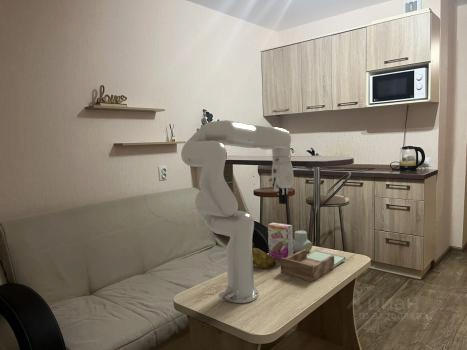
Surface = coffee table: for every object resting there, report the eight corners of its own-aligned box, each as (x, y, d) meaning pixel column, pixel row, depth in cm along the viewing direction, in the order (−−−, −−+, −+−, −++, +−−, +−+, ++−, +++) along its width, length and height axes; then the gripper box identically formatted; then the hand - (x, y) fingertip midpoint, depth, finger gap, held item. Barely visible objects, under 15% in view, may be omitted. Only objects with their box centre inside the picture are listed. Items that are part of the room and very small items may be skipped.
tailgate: (334, 264, 148) (345, 256, 155) (305, 257, 159) (316, 250, 166) (334, 267, 148) (345, 259, 155) (305, 259, 159) (316, 253, 166)
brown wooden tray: (311, 281, 135) (311, 265, 135) (280, 272, 146) (280, 257, 145) (334, 268, 148) (334, 253, 147) (304, 260, 159) (304, 247, 158)
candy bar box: (268, 257, 165) (266, 224, 163) (274, 254, 169) (272, 222, 167) (288, 262, 158) (287, 227, 156) (294, 259, 162) (292, 224, 160)
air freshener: (301, 256, 165) (301, 235, 164) (287, 252, 171) (287, 233, 170) (314, 250, 172) (314, 230, 171) (300, 247, 178) (300, 228, 177)
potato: (267, 272, 147) (266, 254, 146) (243, 266, 155) (242, 249, 154) (278, 266, 153) (277, 249, 152) (254, 261, 161) (254, 244, 161)
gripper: (277, 162, 136) (279, 207, 138) (299, 159, 147) (300, 201, 149) (263, 161, 142) (265, 205, 144) (284, 159, 152) (286, 200, 154)
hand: (283, 203), depth 146 cm, fingers closed
